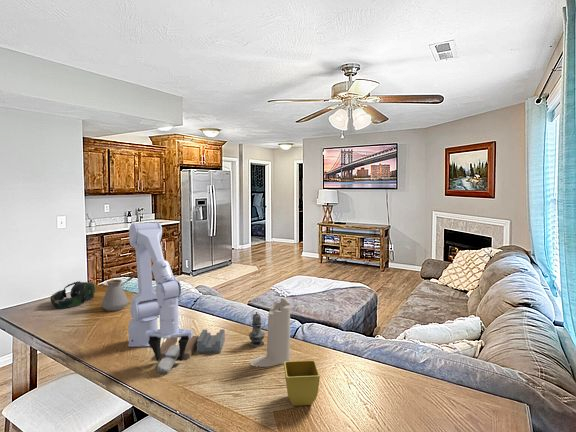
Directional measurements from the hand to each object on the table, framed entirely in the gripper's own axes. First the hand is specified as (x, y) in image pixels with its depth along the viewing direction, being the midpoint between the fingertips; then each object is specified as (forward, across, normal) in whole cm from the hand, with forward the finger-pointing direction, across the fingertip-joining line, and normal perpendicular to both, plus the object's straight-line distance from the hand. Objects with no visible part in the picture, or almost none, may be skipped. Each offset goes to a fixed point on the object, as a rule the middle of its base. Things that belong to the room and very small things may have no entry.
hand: (170, 359), depth 117 cm
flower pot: (+2, +41, -21) cm, 46 cm away
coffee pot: (+2, -39, +57) cm, 69 cm away
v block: (+1, +11, +12) cm, 16 cm away
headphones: (+2, -64, +62) cm, 89 cm away
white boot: (+2, +32, +1) cm, 32 cm away
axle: (0, 0, -1) cm, 1 cm away
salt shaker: (+2, +27, +14) cm, 30 cm away
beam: (+1, 0, +10) cm, 10 cm away
